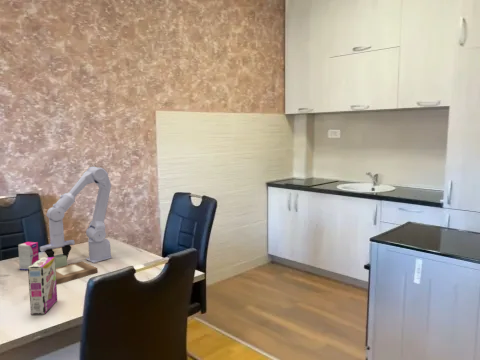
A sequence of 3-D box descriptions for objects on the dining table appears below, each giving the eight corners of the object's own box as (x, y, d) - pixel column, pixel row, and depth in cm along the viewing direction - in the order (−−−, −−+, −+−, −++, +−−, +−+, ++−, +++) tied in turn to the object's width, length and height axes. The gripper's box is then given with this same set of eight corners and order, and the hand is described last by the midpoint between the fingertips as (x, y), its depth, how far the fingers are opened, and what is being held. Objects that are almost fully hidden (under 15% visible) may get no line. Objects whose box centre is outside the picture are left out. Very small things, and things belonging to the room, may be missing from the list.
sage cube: (62, 264, 179) (61, 253, 179) (67, 266, 176) (66, 255, 175) (51, 267, 176) (50, 256, 175) (56, 269, 172) (55, 258, 172)
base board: (82, 265, 178) (81, 260, 178) (97, 272, 169) (97, 267, 169) (41, 276, 165) (40, 271, 165) (55, 284, 156) (54, 279, 155)
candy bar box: (46, 314, 130) (42, 266, 128) (30, 315, 130) (26, 267, 128) (58, 300, 141) (55, 256, 139) (44, 300, 141) (40, 256, 139)
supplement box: (30, 270, 172) (28, 245, 171) (19, 270, 173) (17, 245, 172) (40, 266, 178) (38, 241, 176) (28, 265, 179) (26, 241, 178)
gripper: (68, 229, 182) (70, 257, 184) (36, 235, 171) (38, 265, 173) (75, 231, 177) (77, 260, 179) (42, 238, 167) (45, 269, 168)
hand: (59, 263), depth 176 cm, fingers closed on sage cube, 5 cm apart
